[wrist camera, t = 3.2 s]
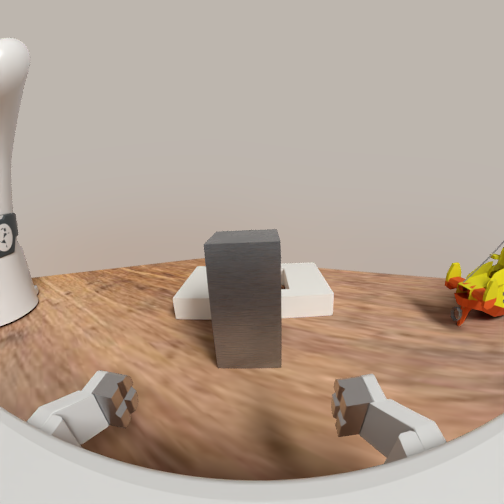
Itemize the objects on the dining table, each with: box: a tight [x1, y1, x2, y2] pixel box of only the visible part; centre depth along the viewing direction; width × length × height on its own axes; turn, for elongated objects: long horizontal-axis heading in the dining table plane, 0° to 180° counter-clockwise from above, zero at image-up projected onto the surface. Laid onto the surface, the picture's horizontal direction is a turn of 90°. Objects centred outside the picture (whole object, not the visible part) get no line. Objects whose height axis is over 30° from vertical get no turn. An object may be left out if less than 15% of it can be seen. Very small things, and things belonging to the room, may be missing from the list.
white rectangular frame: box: [173, 262, 334, 320], centre depth 34 cm, size 17×12×2 cm
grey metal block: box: [204, 229, 281, 368], centre depth 21 cm, size 5×5×10 cm
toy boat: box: [445, 241, 504, 326], centre depth 21 cm, size 6×18×10 cm, turn 94°
